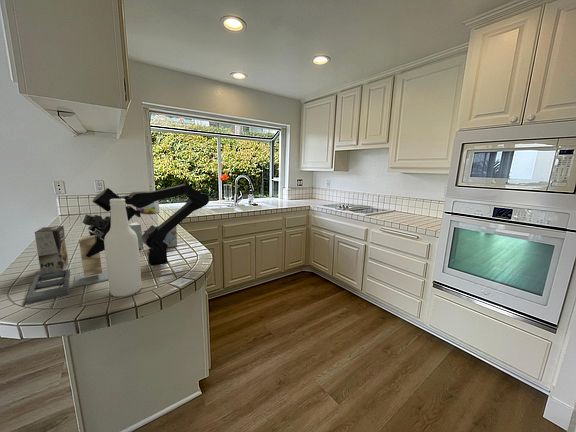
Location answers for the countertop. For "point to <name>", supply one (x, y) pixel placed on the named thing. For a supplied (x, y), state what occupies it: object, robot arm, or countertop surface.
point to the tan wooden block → (89, 263)
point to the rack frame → (49, 293)
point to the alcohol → (122, 253)
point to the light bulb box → (171, 237)
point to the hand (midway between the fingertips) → (85, 254)
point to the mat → (90, 278)
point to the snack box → (150, 208)
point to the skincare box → (137, 233)
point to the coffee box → (51, 249)
